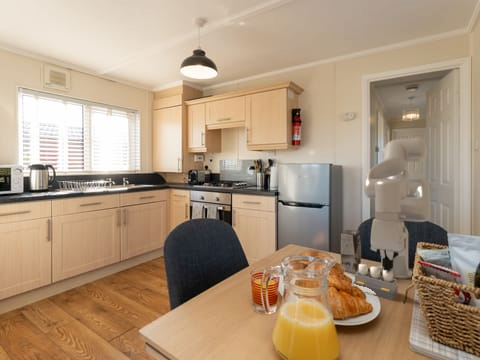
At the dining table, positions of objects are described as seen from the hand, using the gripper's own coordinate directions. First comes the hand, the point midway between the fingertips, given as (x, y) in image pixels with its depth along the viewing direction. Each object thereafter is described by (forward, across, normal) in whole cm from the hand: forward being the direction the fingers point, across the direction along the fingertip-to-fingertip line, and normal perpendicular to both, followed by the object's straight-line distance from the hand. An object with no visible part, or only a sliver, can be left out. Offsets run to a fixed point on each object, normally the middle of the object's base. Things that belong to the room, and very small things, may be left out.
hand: (387, 269), depth 88 cm
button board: (+9, +4, 0) cm, 10 cm away
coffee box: (+9, +18, -15) cm, 25 cm away
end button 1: (+4, 0, 0) cm, 4 cm away
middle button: (+4, +4, 0) cm, 6 cm away
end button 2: (+4, +8, 0) cm, 9 cm away
